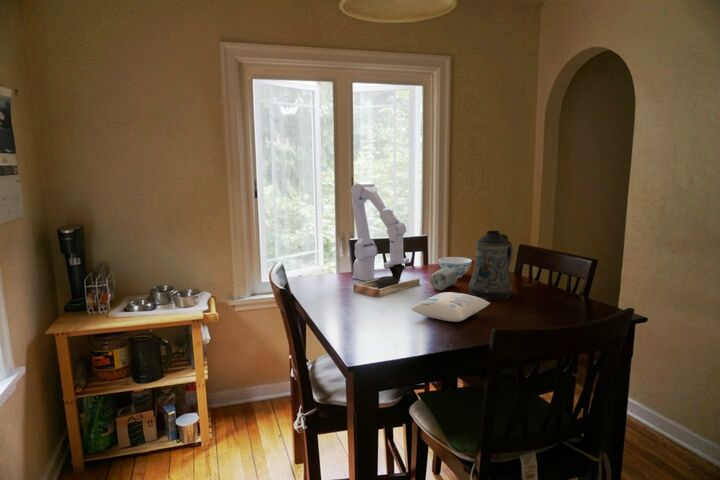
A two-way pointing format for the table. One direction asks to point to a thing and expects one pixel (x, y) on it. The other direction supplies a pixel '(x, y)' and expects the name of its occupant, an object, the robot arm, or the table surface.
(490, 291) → the beer stein
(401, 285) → the guide track
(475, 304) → the pouch
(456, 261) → the chinaware
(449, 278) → the streaked ceramic egg
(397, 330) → the table surface
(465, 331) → the table surface
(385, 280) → the smart speaker
